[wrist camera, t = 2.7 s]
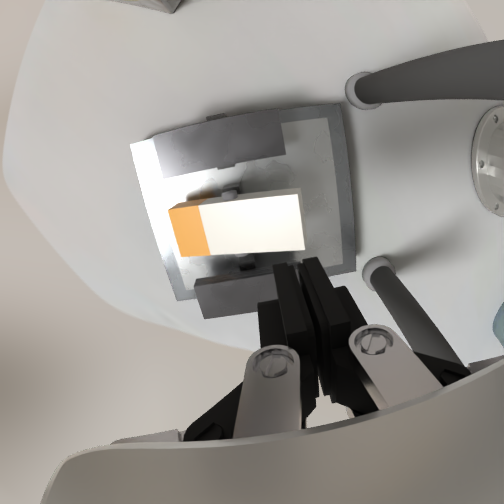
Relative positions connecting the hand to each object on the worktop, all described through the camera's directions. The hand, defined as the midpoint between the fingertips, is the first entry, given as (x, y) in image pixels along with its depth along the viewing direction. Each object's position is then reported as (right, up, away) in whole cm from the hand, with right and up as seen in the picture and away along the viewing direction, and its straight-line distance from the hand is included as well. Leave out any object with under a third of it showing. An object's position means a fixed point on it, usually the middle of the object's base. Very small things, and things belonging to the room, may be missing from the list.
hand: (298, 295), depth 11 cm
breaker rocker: (-3, +3, +9) cm, 10 cm away
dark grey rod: (+11, 0, +17) cm, 20 cm away
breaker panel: (-2, +6, +14) cm, 15 cm away
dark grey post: (+7, +15, +10) cm, 19 cm away
